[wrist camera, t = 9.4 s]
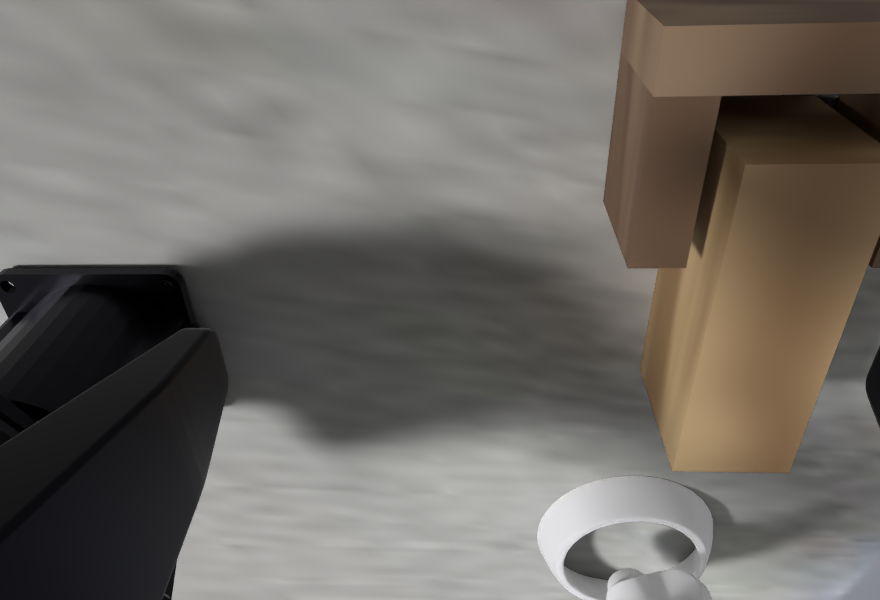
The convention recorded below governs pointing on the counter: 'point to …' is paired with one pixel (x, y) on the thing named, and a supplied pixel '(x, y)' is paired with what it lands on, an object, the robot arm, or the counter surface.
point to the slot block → (719, 99)
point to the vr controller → (626, 500)
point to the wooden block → (761, 284)
